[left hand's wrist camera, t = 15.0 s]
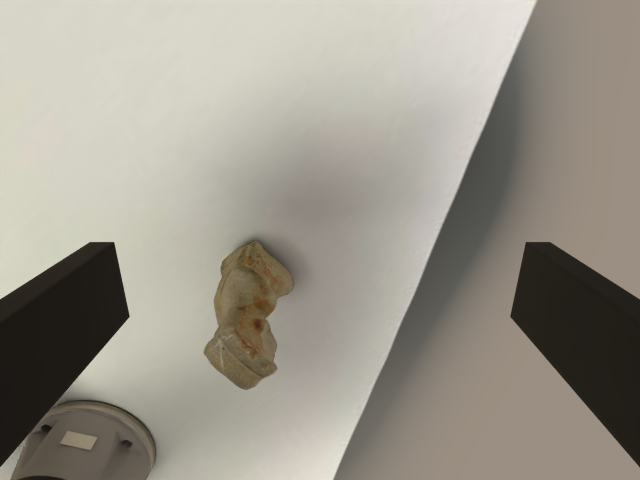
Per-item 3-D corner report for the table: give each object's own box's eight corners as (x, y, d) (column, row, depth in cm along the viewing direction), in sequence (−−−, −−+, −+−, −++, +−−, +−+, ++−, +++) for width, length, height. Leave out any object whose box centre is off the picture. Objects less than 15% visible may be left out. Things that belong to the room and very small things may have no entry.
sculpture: (260, 304, 42) (231, 409, 28) (218, 255, 40) (163, 342, 26) (303, 277, 41) (294, 373, 27) (262, 225, 39) (229, 299, 25)
